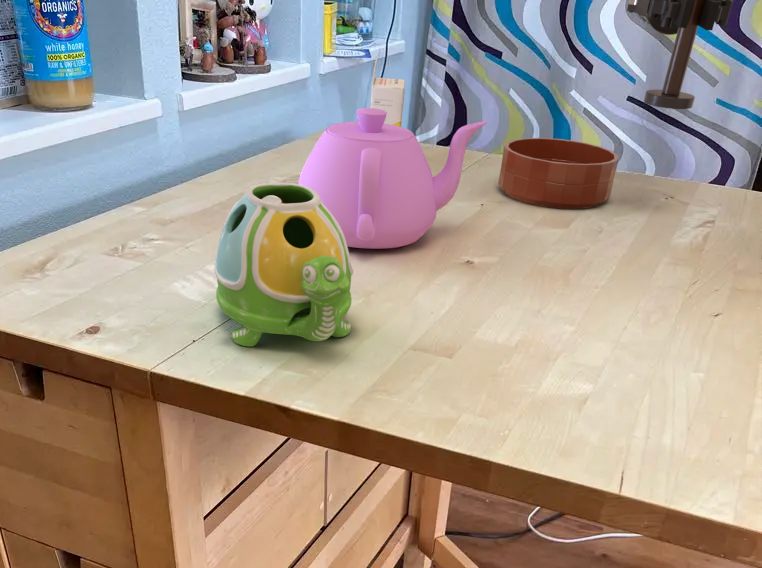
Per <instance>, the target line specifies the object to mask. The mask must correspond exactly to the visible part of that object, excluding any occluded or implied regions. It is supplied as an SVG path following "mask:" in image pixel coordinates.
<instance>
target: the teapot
mask: <svg viewBox="0 0 762 568" xmlns="http://www.w3.org/2000/svg"><path fill="white" fill-rule="evenodd" d="M386 115H387V112H385V111H384V110H381V109H375V108H370V107H361V108H359V109H357V110H356V117H357V121H345V122H337V123H333V124H331V125H329V126H328V127H326V129H325V130H324V131H323V132H322V134H321V135H320V136H319V138H318V140H317V141H316V143H315V145H314V146H313V148H312V150H311V152H310V153H309V155H308V157H307V159H306V161H305V163H304V165H303V167H302V170H301V172H300V174H299V177H298V180H297V184H301V185H305V186H308V187H310V188H312V189H313V190H314V191H316V192H317V193H318V195H319V196H320V199H321V202H322V203H323V204H324V206H325V207H326V208H327V209H328V210H329V211H330V213H331V214H332V215H333V217H334V218H335V219H336V221H337V222H338V224H339V226H340V227H341V230H342V232H343V234H344V237H345V240H346V244H347V247H348V248H358V249H374V250H375V249H376V250H377V249H379V250H380V249H397V248H400V247H404V246H408V245H411V244H414V243H415V242H417V241H418V240H419V239H420V238H421V237H422V236H423V235H425V234H426V233H427V232H428V231H429V229H430V228H431V227H432V226H433V225H434V222H435V221H436V218H437V212H438V211H439V210H441V209H442V208H444V207H445V206H447V205H448V203H450V201H451V200H452V199H453V198H454V196H455V194H456V193H457V190H458V187H459V184H460V181H461V177H462V176H461V175H462V169H463V163H464V156H465V153H466V149H467V147H468V144H469V142H470V140H471V138H472V137H473V136H474V134H476V132H477V131H478V130H480V129H481V128H482V127H484V126H485V125H486V124H487V123H488V121H487V120H483V121H478V122H473V123H469V124H465V125H463V126H461V127H460V128H458V129H457V130H456V132H455V133H454V134H453V136H452V138H451V141H450V145H449V150H448V154H447V160H446V162H445V164H444V166H443V168H442V169H441V171H440V172H438V173H437V174H436V175H434V176H433V173H432V170H431V168H430V167H431V166H430V164H429V163H428V160H427V158H426V155H425V152H424V150H423V149H422V146H421V144H420V143H419V140H418V139H417V137H416V135H415V134H414V133H413V131H411V130H410V129H408V128H406V127H403V126H401V127H399V126H395V125H390V124H383V123H384V121H385V119H386Z"/></svg>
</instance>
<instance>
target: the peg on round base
mask: <svg viewBox="0 0 762 568" xmlns="http://www.w3.org/2000/svg"><path fill="white" fill-rule="evenodd" d="M704 3H705V0H694V1H693V5H692V9H691V13H690V17H689V20H688V24H687V28H678V31H677V34H675V35H676V36H675V40H674V43H673V47H672V48H673V49H672V51H671V56H670V59H669V63H668V67H667V71H666V74H665V77H664V82H663V86H662V89H648V90H646V91H645V95H644V99H643V103H644V104H647V105H649V106H653V107H656V108H662V109H671V110H690V109H692V108H693V107H694V102H695V99H696V96H695V95H693V94H692V93H686V92H683V91H682V87H683V83H684V80H685V77H686V72H687V69H688V65H689V62H690V58H691V55H692V50H693V46H694V43H695V39H696V36H697V31H698V28H699V26H698V25H699V21H700V17H701V14H702V10H703V6H704Z"/></svg>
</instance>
